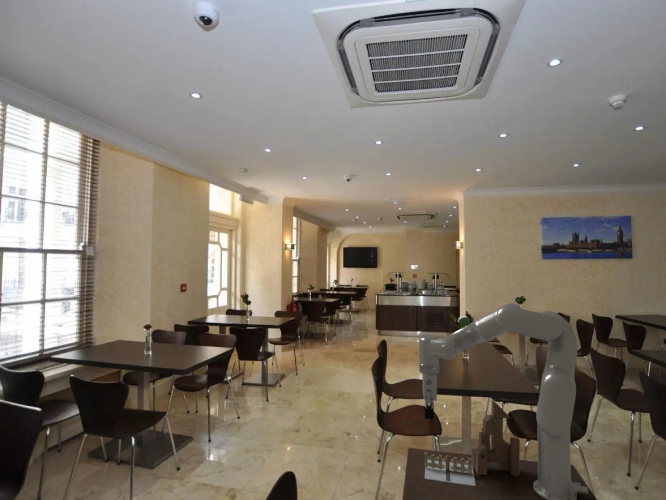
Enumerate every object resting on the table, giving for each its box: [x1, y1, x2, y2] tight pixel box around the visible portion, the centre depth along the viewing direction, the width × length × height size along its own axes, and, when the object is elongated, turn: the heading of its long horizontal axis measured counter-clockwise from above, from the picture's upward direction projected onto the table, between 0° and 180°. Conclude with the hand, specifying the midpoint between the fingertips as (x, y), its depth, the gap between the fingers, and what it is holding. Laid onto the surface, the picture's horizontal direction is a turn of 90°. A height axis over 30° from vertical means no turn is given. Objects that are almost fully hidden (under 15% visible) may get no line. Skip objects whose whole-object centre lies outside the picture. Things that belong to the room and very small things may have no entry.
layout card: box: [424, 460, 477, 487], centre depth 141 cm, size 17×14×1 cm
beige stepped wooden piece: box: [423, 451, 451, 471], centre depth 143 cm, size 9×1×5 cm, turn 75°
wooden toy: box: [471, 399, 521, 477], centre depth 142 cm, size 15×7×25 cm, turn 88°
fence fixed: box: [450, 456, 472, 475], centre depth 140 cm, size 7×1×6 cm, turn 75°
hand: (429, 414), depth 150 cm, fingers open, 6 cm apart
